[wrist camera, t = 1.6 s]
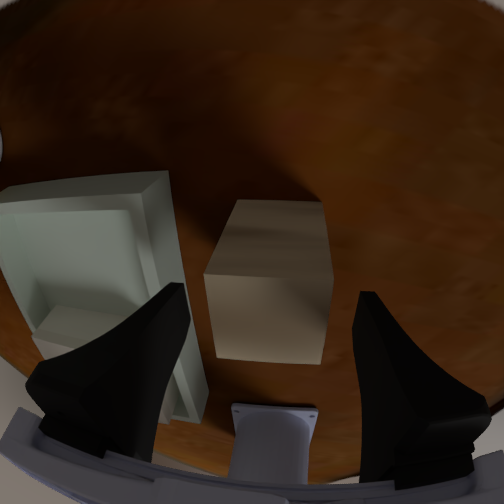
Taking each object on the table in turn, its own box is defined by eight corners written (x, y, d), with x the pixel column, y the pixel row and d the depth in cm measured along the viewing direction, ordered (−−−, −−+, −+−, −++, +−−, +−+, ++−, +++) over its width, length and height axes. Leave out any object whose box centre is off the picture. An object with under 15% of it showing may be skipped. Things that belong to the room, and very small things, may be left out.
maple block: (316, 272, 19) (320, 364, 13) (241, 269, 19) (216, 357, 13) (321, 201, 17) (333, 280, 11) (237, 199, 17) (203, 273, 11)
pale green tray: (209, 392, 27) (200, 423, 24) (84, 367, 29) (70, 391, 26) (168, 170, 17) (140, 193, 14) (9, 186, 18) (-22, 206, 15)
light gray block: (181, 386, 25) (168, 424, 22) (88, 367, 27) (71, 397, 23) (160, 320, 21) (140, 363, 18) (56, 304, 23) (31, 336, 19)
